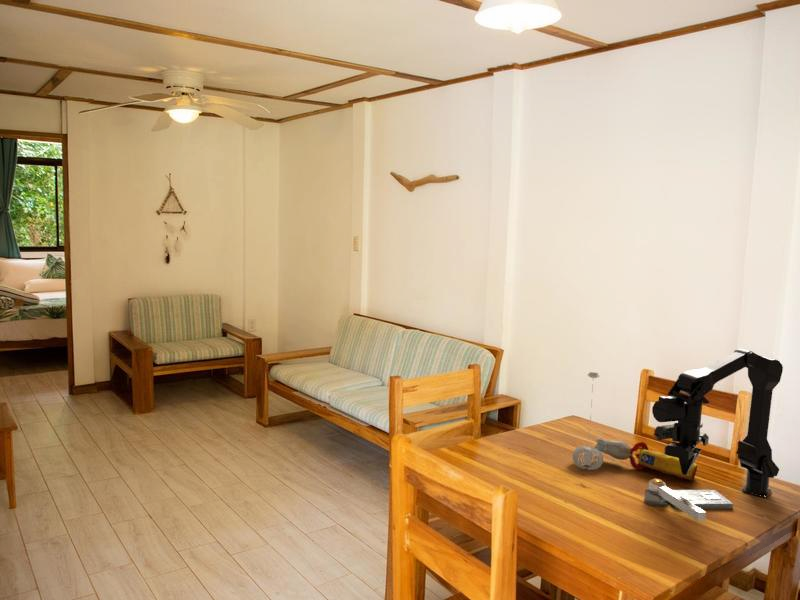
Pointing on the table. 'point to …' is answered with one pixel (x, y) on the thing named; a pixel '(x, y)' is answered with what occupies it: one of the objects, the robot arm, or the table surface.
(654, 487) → the swing arm
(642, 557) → the table surface
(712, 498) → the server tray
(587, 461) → the pendant light
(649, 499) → the pivot base
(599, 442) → the toy
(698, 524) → the table surface
